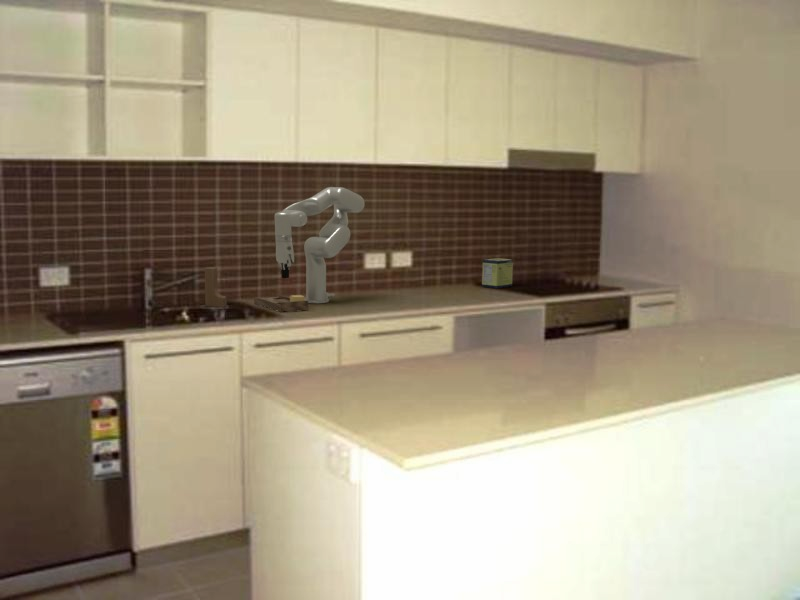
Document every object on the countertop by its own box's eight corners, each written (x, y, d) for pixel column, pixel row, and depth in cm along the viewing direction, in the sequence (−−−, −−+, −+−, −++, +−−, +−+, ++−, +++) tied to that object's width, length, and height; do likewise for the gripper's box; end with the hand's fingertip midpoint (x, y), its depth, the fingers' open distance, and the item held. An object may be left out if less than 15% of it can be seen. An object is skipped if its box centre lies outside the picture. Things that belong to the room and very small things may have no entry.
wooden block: (226, 306, 411) (226, 267, 409) (223, 307, 407) (223, 268, 404) (208, 305, 412) (208, 267, 410) (205, 306, 408) (204, 268, 406)
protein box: (512, 286, 501) (513, 259, 499) (496, 288, 490) (497, 260, 487) (497, 284, 508) (498, 257, 506) (481, 286, 497) (482, 259, 494)
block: (299, 303, 406) (299, 295, 406) (304, 305, 402) (304, 296, 401) (289, 304, 403) (289, 295, 403) (294, 305, 399) (294, 297, 399)
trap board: (280, 301, 427) (280, 292, 426) (308, 310, 402) (308, 300, 402) (254, 303, 420) (254, 294, 419) (280, 312, 395) (280, 302, 394)
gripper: (298, 239, 404) (300, 279, 407) (283, 236, 416) (285, 275, 419) (284, 240, 400) (285, 280, 403) (269, 238, 412) (270, 276, 415)
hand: (285, 277), depth 411 cm, fingers closed
